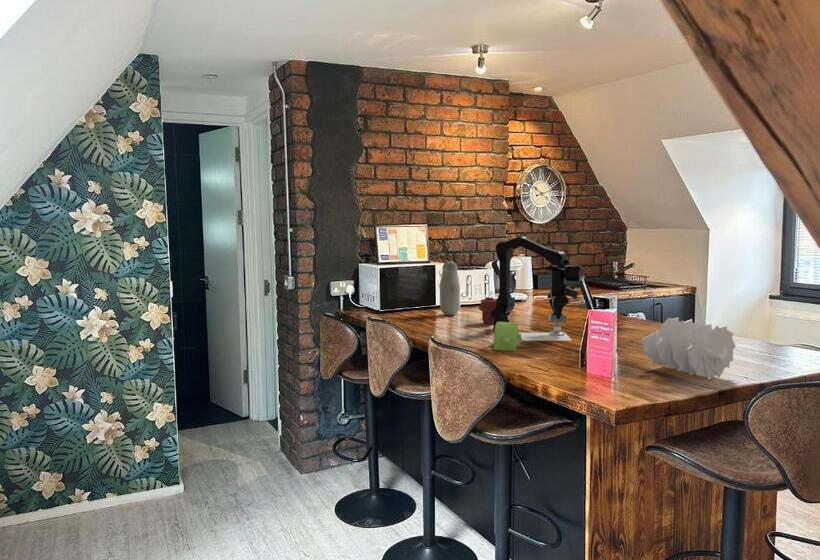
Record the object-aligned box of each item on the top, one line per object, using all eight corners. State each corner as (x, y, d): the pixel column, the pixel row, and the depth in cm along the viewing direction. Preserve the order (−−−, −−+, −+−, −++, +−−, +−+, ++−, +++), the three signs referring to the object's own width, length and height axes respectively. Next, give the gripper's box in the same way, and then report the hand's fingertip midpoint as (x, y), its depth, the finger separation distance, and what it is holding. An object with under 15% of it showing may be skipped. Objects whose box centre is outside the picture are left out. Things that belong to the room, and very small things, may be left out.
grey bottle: (436, 314, 338) (436, 261, 335) (454, 313, 342) (453, 260, 339) (445, 317, 329) (445, 262, 326) (463, 315, 333) (463, 261, 330)
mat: (522, 341, 265) (522, 340, 265) (518, 334, 282) (518, 332, 282) (572, 341, 264) (572, 340, 264) (565, 334, 281) (565, 332, 280)
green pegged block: (519, 355, 243) (520, 330, 242) (492, 353, 245) (494, 328, 244) (521, 344, 261) (522, 321, 259) (496, 342, 262) (497, 319, 261)
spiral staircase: (667, 375, 224) (732, 389, 202) (633, 359, 216) (697, 371, 194) (682, 326, 227) (748, 334, 204) (649, 308, 219) (714, 314, 197)
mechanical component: (498, 321, 314) (501, 325, 304) (478, 321, 315) (479, 325, 305) (499, 296, 313) (501, 299, 303) (478, 296, 313) (480, 299, 303)
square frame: (550, 321, 273) (550, 315, 273) (548, 319, 280) (548, 313, 279) (566, 321, 273) (566, 315, 272) (563, 319, 279) (564, 313, 279)
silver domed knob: (550, 335, 274) (550, 323, 273) (548, 333, 280) (548, 321, 280) (566, 335, 273) (566, 323, 273) (563, 333, 280) (563, 321, 279)
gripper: (581, 283, 265) (580, 321, 266) (573, 278, 283) (572, 314, 285) (553, 283, 265) (553, 321, 267) (547, 278, 284) (546, 314, 286)
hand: (557, 317), depth 276 cm, fingers closed on square frame, 7 cm apart
